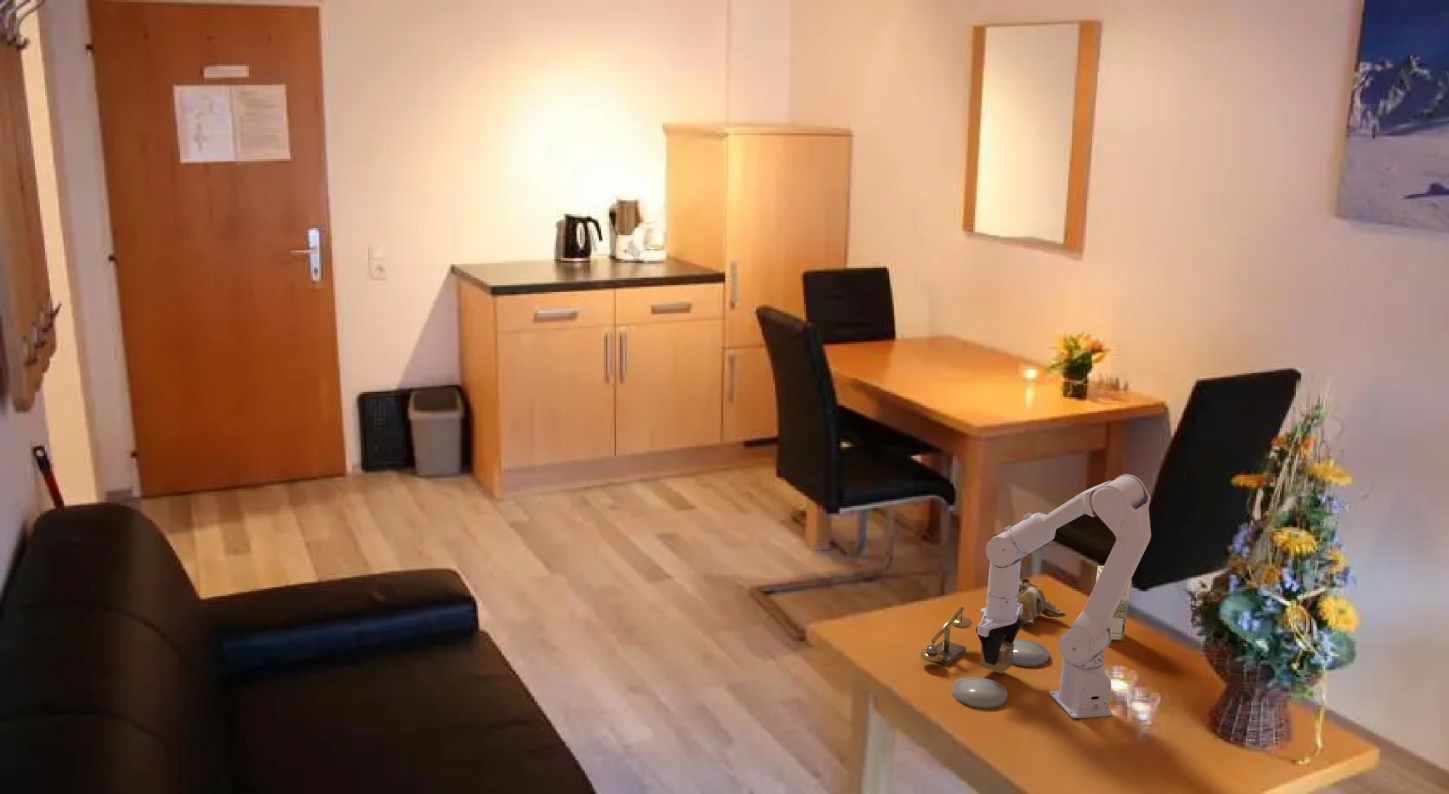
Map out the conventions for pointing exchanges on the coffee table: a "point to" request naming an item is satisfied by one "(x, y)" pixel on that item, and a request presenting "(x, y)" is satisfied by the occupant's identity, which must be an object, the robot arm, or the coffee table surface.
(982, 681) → the left dish
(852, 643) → the coffee table surface
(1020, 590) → the ceramic sculpture
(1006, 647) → the walnut block
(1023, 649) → the right dish
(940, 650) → the bronze balance
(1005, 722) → the coffee table surface
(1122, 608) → the syrup box
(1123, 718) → the coffee table surface
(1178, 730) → the coffee table surface
